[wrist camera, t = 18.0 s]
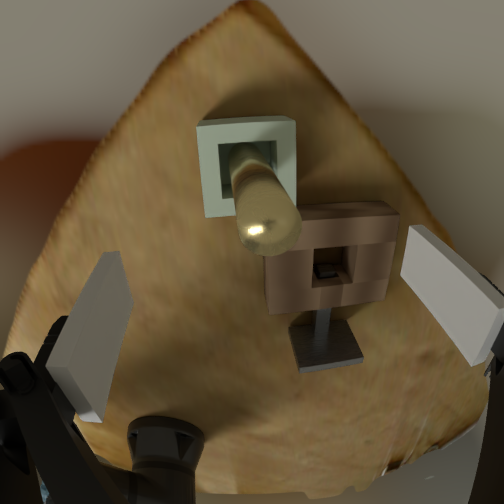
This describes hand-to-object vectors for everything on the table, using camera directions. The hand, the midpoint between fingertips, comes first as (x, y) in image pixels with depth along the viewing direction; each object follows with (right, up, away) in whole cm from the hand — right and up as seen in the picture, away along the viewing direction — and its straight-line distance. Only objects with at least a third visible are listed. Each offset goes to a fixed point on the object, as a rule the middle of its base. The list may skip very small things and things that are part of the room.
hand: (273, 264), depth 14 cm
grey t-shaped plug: (+8, -5, +26) cm, 27 cm away
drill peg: (-2, +9, +16) cm, 19 cm away
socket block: (+7, +1, +23) cm, 24 cm away
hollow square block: (-2, +10, +17) cm, 20 cm away
